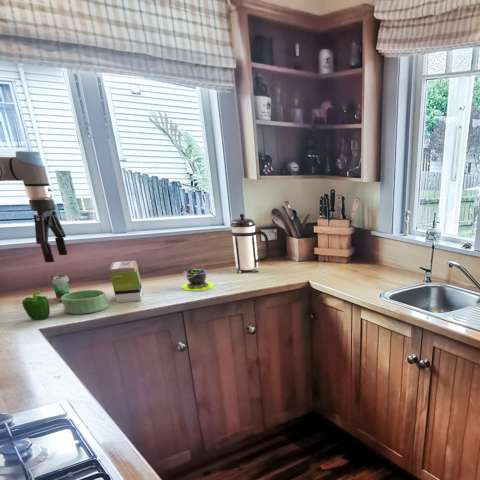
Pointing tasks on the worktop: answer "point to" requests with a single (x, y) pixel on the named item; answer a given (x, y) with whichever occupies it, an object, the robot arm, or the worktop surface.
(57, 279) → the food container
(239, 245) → the coffee press
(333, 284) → the worktop surface
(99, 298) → the bowl
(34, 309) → the bell pepper
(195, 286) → the toy cauldron
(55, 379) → the worktop surface
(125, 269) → the tea box
